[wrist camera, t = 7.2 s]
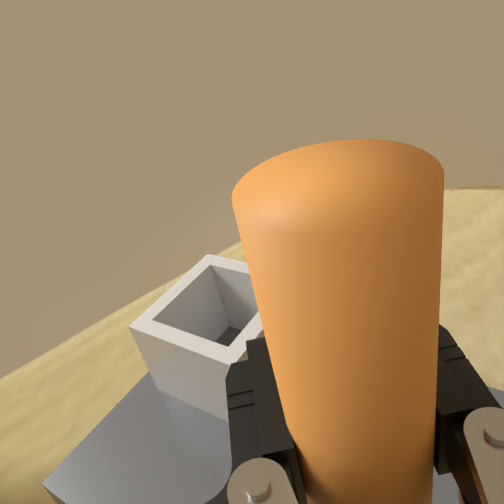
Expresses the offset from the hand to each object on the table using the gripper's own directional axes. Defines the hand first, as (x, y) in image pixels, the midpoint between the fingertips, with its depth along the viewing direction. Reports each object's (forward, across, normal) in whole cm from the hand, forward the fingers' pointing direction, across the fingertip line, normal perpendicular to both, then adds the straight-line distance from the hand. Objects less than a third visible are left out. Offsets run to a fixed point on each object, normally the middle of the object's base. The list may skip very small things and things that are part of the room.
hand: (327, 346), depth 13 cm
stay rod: (-3, 0, +8) cm, 8 cm away
